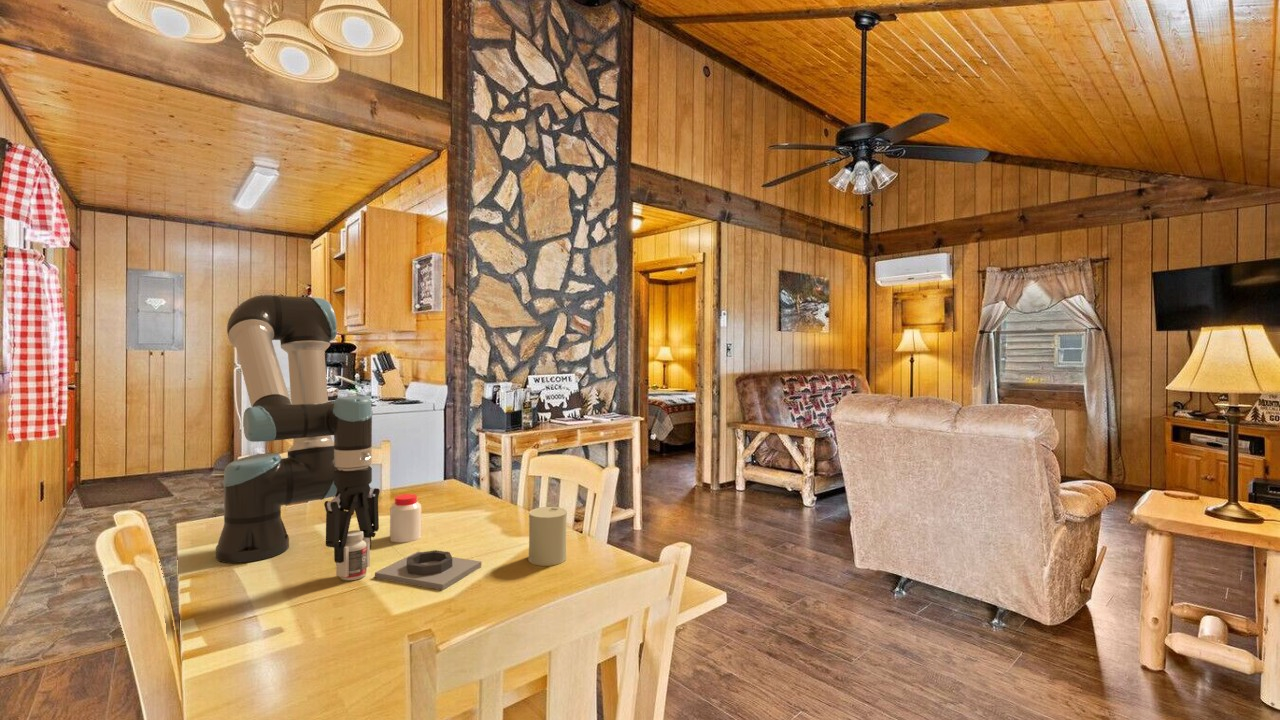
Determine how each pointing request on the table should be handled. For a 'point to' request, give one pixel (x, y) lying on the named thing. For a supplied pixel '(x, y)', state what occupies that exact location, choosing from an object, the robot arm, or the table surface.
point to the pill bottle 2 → (405, 519)
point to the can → (547, 536)
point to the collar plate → (429, 579)
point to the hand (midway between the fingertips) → (353, 570)
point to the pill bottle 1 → (356, 555)
